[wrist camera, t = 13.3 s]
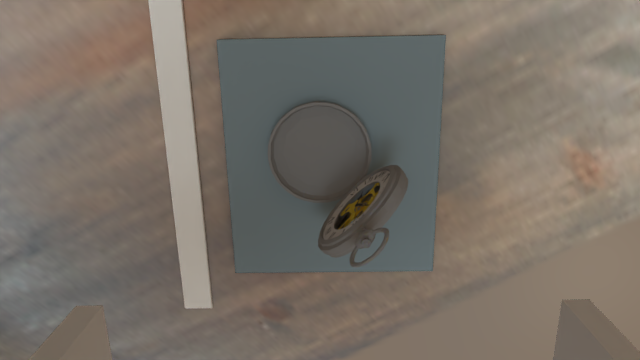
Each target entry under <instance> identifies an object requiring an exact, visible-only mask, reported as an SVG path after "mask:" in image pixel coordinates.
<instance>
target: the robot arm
mask: <svg viewBox="0 0 640 360" xmlns="http://www.w3.org/2000/svg"><path fill="white" fill-rule="evenodd" d="M29 360H112V355H111V350H110V344H109V338H108V333H107V327H106V321H105V316H104V310H103V306H76V307H75V308H74V309H73V310H72V311H71V312H70V314H69V315H68V316H67V317H66V318H65V319H64V320H63V321H62V323H61V324H60V325H59V326H58V327H57V328H56V329H55V331H54V332H53V333H52V334H51V335H50V336H49V337H48V338H47V340H46V341H45V342H44V343H43V344H42V345H41V346H40V347H39V349H38V350H37V351H36V352H35V353H34V354H33V355H32V357H31V358H30V359H29ZM553 360H640V351H639V350H638V349H637V348H636V347H635V346H634V345H633V344H632V343H631V342H630V341H629V340H628V339H627V338H626V337H625V336H624V335H623V334H622V333H621V332H620V331H619V329H617V328H616V326H615V325H614V324H613V323H612V322H611V321H610V320H609V319H608V318H607V317H606V316H605V315H604V314H603V313H602V312H601V311H600V310H599V309H598V308H597V307H596V306H595V305H594V304H593V303H592V302H591V301H590V300H589V299H578V300H577V299H574V300H573V299H572V300H562V303H561V311H560V317H559V324H558V331H557V337H556V344H555V351H554V357H553Z"/></svg>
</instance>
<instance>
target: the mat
mask: <svg viewBox="0 0 640 360" xmlns="http://www.w3.org/2000/svg"><path fill="white" fill-rule="evenodd" d="M445 41H446V35H418V36H368V37H319V38H269V39H220V40H217V50H218V63H219V75H220V87H221V100H222V112H223V124H224V137H225V149H226V161H227V174H228V186H229V199H230V211H231V223H232V236H233V248H234V260H235V273H278V272H381V271H433V255H434V237H435V219H436V202H437V184H438V166H439V148H440V130H441V113H442V95H443V77H444V59H445ZM315 101H320V102H328V103H334V104H338V105H340V106H341V107H343V108H346V109H347V110H349V111H350V112H352V113H353V114H355V115H356V116H357V118H358V119H359V120H360V121H361V123H362V124H363V125H364V127H365V128H366V130H367V133H368V136H369V139H370V142H371V150H372V152H371V162H370V166H369V169H368V173H367V174H366V176H367V175H369V174H370V173H372V172H373V171H375V170H377V169H379V168H381V167H385V166H389V165H398V166H399V167H400V168H401V169H402V170H403V171H404V173H405V174H406V177H407V178H408V187H407V191H406V193H405V196H404V198H403V200H402V202H401V203H400V205H399V206H398V208H397V209H396V211H395V212H394V213H393V215H392V216H391V217H390V219H389V220H388V221H387V222H386V223H385V225H384V226H383V227H382V228H387V229H388V230H389V239H388V242H387V244H386V246H385V247H384V249H383V250H382V251H381V252H380V254H379V255H377V256H376V257H375V258H374V259H373V260H372V261H370V262H369V263H367V264H366V265H364V266H361V267H357V268H356V267H352V266H351V265H350V261H349V259H350V256H351V253H352V252H351V253H349V254H347V255H345V256H341V257H338V258H335V257H331V256H329V255H327V254H325V253H323V252H322V251H321V250H320V248H319V247H318V239H319V234H320V231H321V228H322V226H323V224H324V222H325V220H326V219H327V217H328V215H329V214H330V212H331V211H332V210H333V208H334V207H335V206H336V204H337V203H338V202H339V201H340V200H341V199H342V198H341V199H339V200H336V201H332V202H328V203H313V202H308V201H304V200H301V199H298V198H296V197H294V196H293V195H291V194H290V193H288V192H287V191H286V190H285V189H284V188H283V187H282V186H281V185H280V184H279V183H278V182H277V180H276V179H275V177H274V176H273V174H272V171H271V169H270V166H269V161H268V144H269V140H270V136H271V133H272V131H273V129H274V128H275V126H276V125H277V123H278V122H279V120H280V119H281V117H283V116H284V115H285V114H287V113H288V112H289V111H291V110H292V109H293V108H295V107H296V106H299V105H303V104H306V103H311V102H315ZM366 176H365V177H366ZM359 215H360V214H359ZM359 215H358V216H359ZM356 219H357V217H356ZM356 219H355V220H356ZM353 221H354V220H353ZM353 221H352V222H353ZM352 222H351V223H352ZM383 240H384V233H382V232H380V233H376V236H375V239H374V241H373V242H372V244H371V246H370V247H369V248H362V249H358V251H357V253H356V255H355V259H354V261H355V262H362V261H364V260H365V259H367V258H369V257H370V256H372V255H373V254H374V252H375V251H376V250H377V249H378V248H379V247H380V245H381V243H382V242H383Z"/></svg>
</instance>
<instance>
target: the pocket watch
mask: <svg viewBox="0 0 640 360" xmlns="http://www.w3.org/2000/svg"><path fill="white" fill-rule="evenodd" d="M371 152H372V150H371V142H370V139H369V136H368V133H367V130H366V128H365V127H364V125H363V124H362V123H361V121H360V120H359V119H358V118H357V116H356V115H355V114H353V113H352V112H350V111H349V110H347V109H346V108H343V107H341V106H340V105H338V104H334V103H328V102H320V101H315V102H311V103H306V104H303V105H299V106H296V107H295V108H293V109H292V110H291V111H289V112H288V113H287V114H285V115H284V116H283V117H281V119H280V120H279V122H278V123H277V125H276V126H275V128H274V129H273V131H272V133H271V136H270V140H269V144H268V161H269V166H270V169H271V171H272V174H273V176H274V177H275V179H276V180H277V182H278V183H279V184H280V185H281V186H282V187H283V188H284V189H285V190H286V191H287V192H288V193H290V194H291V195H293V196H294V197H296V198H298V199H301V200H304V201H308V202H313V203H328V202H332V201H336V200H339V199H341V198H342V199H341V200H340V201H339V202H338V203H337V204H336V206H335V207H334V208H333V210H332V211H331V212H330V214H329V215H328V217H327V219H326V220H325V222H324V224H323V226H322V228H321V231H320V234H319V239H318V247H319V248H320V250H321V251H322V252H323V253H325V254H327V255H329V256H331V257H335V258H338V257H341V256H345V255H347V254H349V253H351V252H352V253H351V256H350V259H349V261H350V265H351V266H352V267H356V268H357V267H361V266H364V265H366V264H367V263H369V262H370V261H372V260H373V259H374V258H375V257H376V256H377V255H379V254H380V252H381V251H382V250H383V249H384V247H385V246H386V244H387V242H388V239H389V230H388V229H387V228H382V227H383V226H384V225H385V223H386V222H387V221H388V220H389V219H390V217H391V216H392V215H393V213H394V212H395V211H396V209H397V208H398V206H399V205H400V203H401V202H402V200H403V198H404V196H405V193H406V191H407V187H408V178H407V177H406V174H405V173H404V171H403V170H402V169H401V168H400V167H399V166H398V165H389V166H385V167H381V168H379V169H377V170H375V171H373V172H372V173H370V174H369V175H367V176H366V174H367V173H368V169H369V166H370V162H371ZM365 176H366V177H365ZM359 214H360V215H359ZM358 215H359V216H358ZM356 217H357V219H356ZM355 219H356V220H355ZM353 220H354V221H353ZM352 221H353V222H352ZM351 222H352V223H351ZM380 232H382V233H384V240H383V242H382V243H381V245H380V247H379V248H378V249H377V250H376V251H375V252H374V254H373V255H372V256H370V257H369V258H367V259H365V260H364V261H362V262H355V261H354V259H355V255H356V253H357V251H358V249H362V248H369V247H370V246H371V244H372V242H373V241H374V239H375V236H376V233H380Z"/></svg>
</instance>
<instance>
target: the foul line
mask: <svg viewBox="0 0 640 360" xmlns="http://www.w3.org/2000/svg"><path fill="white" fill-rule="evenodd" d="M148 2H149V10H150V19H151V27H152V36H153V44H154V52H155V61H156V69H157V78H158V86H159V94H160V103H161V111H162V120H163V128H164V136H165V145H166V153H167V162H168V170H169V178H170V187H171V195H172V204H173V212H174V220H175V229H176V237H177V246H178V254H179V262H180V271H181V279H182V288H183V296H184V305H185V308H212V307H213V302H212V292H211V282H210V272H209V262H208V252H207V242H206V232H205V222H204V212H203V201H202V191H201V181H200V171H199V161H198V151H197V141H196V131H195V121H194V110H193V100H192V90H191V80H190V70H189V60H188V50H187V40H186V30H185V20H184V9H183V0H148Z"/></svg>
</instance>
